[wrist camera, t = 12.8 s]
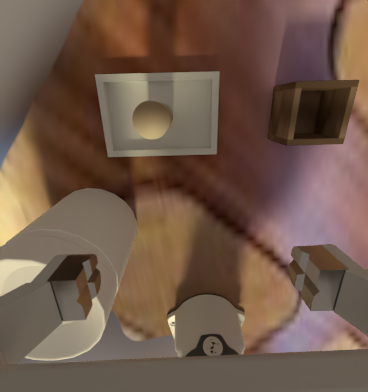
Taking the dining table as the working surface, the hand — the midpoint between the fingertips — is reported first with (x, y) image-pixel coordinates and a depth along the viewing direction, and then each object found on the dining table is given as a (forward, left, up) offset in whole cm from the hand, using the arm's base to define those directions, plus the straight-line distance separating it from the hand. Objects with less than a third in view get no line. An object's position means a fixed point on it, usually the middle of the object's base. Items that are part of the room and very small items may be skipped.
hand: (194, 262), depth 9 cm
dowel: (+5, +4, -30) cm, 30 cm away
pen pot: (+5, -18, -30) cm, 36 cm away
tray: (+5, +4, -30) cm, 31 cm away
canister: (-15, +18, -30) cm, 38 cm away
